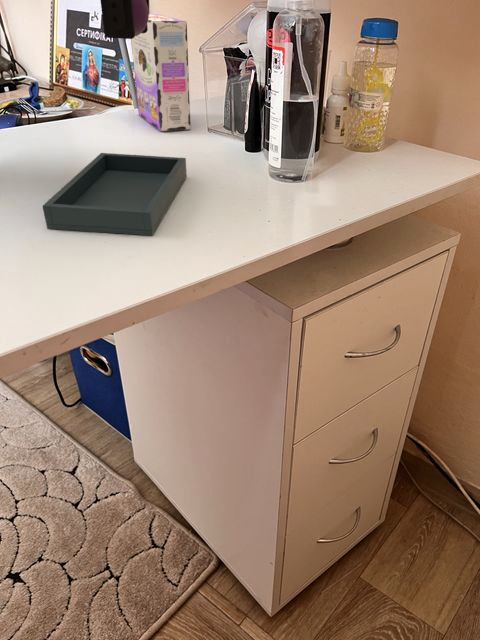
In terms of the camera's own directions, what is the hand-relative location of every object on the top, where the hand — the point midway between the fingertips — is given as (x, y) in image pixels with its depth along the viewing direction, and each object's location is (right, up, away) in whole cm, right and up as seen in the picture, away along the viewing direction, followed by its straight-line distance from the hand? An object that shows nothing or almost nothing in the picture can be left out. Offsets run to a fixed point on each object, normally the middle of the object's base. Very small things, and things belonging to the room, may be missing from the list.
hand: (127, 33), depth 59 cm
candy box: (-3, +6, +38) cm, 38 cm away
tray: (-2, -17, +6) cm, 18 cm away
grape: (0, 0, 0) cm, 0 cm away
